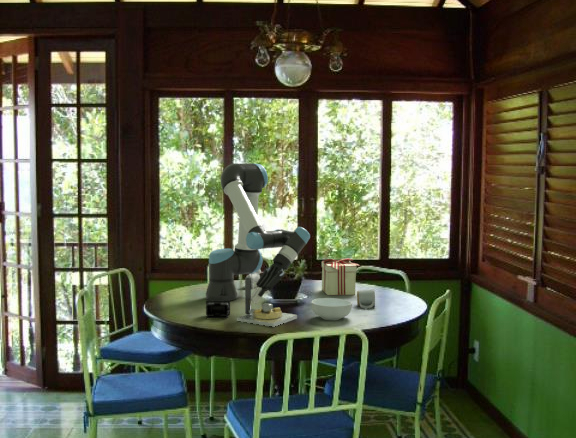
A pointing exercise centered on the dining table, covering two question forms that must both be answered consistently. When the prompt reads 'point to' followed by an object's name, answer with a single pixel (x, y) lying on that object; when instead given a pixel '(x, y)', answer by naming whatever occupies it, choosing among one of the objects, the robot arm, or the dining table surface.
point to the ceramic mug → (366, 298)
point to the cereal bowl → (331, 308)
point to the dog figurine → (254, 277)
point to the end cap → (217, 309)
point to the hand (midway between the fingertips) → (252, 301)
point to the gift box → (339, 277)
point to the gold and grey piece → (258, 312)
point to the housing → (267, 322)
